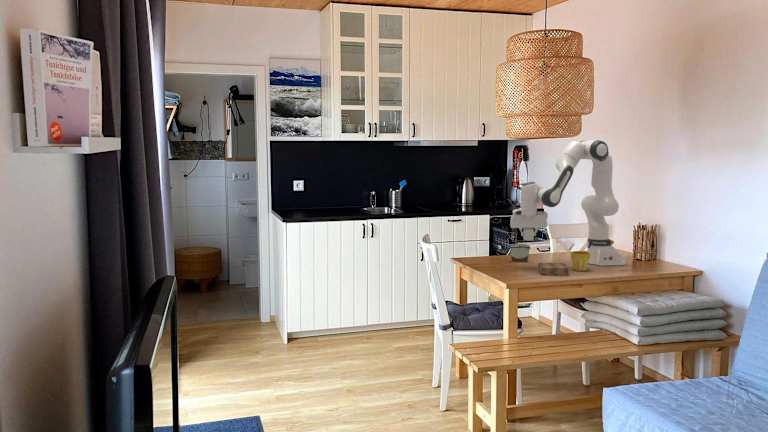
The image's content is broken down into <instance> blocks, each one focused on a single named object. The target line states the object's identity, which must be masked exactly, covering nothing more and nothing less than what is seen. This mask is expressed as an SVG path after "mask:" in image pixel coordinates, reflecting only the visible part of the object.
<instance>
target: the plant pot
mask: <svg viewBox="0 0 768 432" xmlns="http://www.w3.org/2000/svg"><path fill="white" fill-rule="evenodd" d="M570 259H571V260H572V266H573V270H574V271H577V272H587V269H588V265H589V263H588V262H589V259H590V252H587V251H585V250H584V251H583V250H575V251H573V250H572V251H571V252H570Z"/></svg>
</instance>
